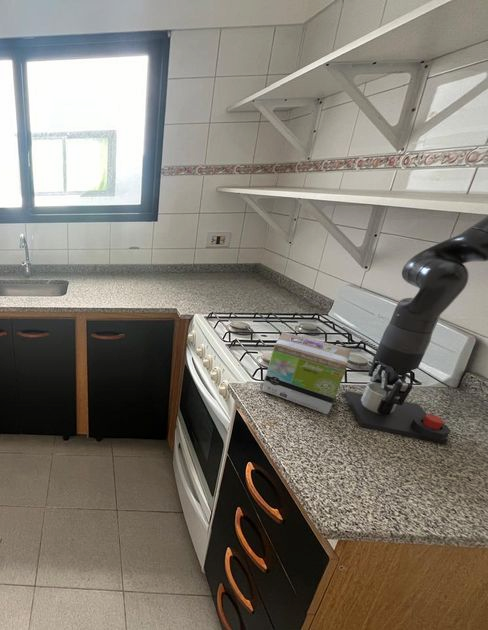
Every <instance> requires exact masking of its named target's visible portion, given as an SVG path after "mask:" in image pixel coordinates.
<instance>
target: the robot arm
mask: <svg viewBox="0 0 488 630" xmlns="http://www.w3.org/2000/svg"><path fill="white" fill-rule="evenodd" d="M471 262H482V263H483V262H488V215H486V216H484V217H483V218H482V219H479V220H478V221H477V222H475V223H474V224H472V225H471V226H470V227H468V228H467V229H465V230H464V231H463V232H461V233H459V234H458V235H455V236H453V237H449V238H447V239H445V240H442V241H441V242H439V243H437V244H435V245H432V246H429V247H428V248H426V249H424V250H422V251H420V252H418V253H417V254H415V255H414V256H412V257H411V258H410V259H408V260H407V261H406V263H405V264H404V265H403V267H402V270H401V277H402V279H403V280H404V281H405V282H406V283H407V284H409V285H410V286H413V287H416V288H417V289H419V290H418V291H417V293H416V294H415V296H414V297H405V298H402V299H400V300H399V301H398V303H397V304H396V306H395V307H394V311H393V314H392V316H391V319H390V320H389V322H388V325H387V326H386V327H385V330H384V332H383V334H382V336H381V339H380V341H379V344H378V347H377V349H376V352H375V354H374V356H373V359H372V362H371V365H370V367H369V371H368V377H370V378H369V383H370V382H376V383H382V384H381V389H382V390H383V397H382V400H381V402H380V404H379V406H378V409H377V411H378V413H380V414H385V415H389V414H390V412H391V410H392V408H393V406H394V404H397V405H402V404H403V403H404V402H406V399H407V398H408V396H409V394H410V392H411V391H412V389H413V383H409V382H406V380H407V375H408V372H410V371H414V370H417V369H418V368H419V367H420V365H421V362H422V360H423V358H424V356H425V354H426V353H427V350H428V347H429V345H430V343H431V340H432V336H433V333H434V331H435V328H436V326H437V324H438V322H439V320H440V317H441V315H442V314H443V313H444V312H445V311H446V310H448V308H449V307H450V306H451V304H452V303H453V302H454V301H456V299H457V298H458V297H459V296H460V295H461V294H462V293H463V291H464V290H465V288H466V287H467V285H468V282H469V280H470V279H469V277H470V274H469V270H468V267H467V266H466V265H465V264H466V263H467V264H468V263H471ZM387 385H388V386H390V387H393V388H388V387H387ZM389 391H391V392H390V394H389V396H388V392H389Z"/></svg>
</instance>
